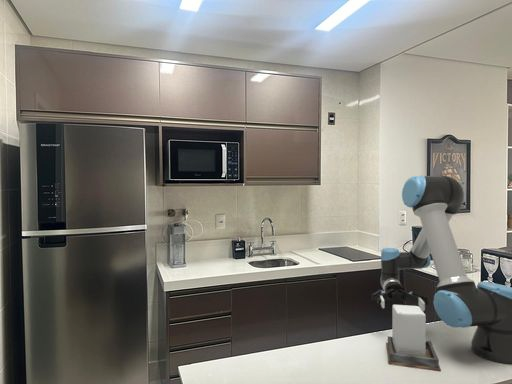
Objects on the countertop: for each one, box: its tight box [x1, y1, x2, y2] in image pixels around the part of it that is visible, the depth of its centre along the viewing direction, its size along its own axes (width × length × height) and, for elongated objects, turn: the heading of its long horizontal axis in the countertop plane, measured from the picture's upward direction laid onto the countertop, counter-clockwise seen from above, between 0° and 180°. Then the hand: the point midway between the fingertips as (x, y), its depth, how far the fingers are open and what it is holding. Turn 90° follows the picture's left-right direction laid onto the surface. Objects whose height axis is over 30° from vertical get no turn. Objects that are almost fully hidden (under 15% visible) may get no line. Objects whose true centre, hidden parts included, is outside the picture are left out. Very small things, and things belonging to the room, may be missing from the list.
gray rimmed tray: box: [385, 335, 442, 372], centre depth 118 cm, size 15×15×3 cm
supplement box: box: [391, 304, 427, 357], centre depth 118 cm, size 9×9×15 cm
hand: (403, 305), depth 128 cm, fingers open, 13 cm apart
